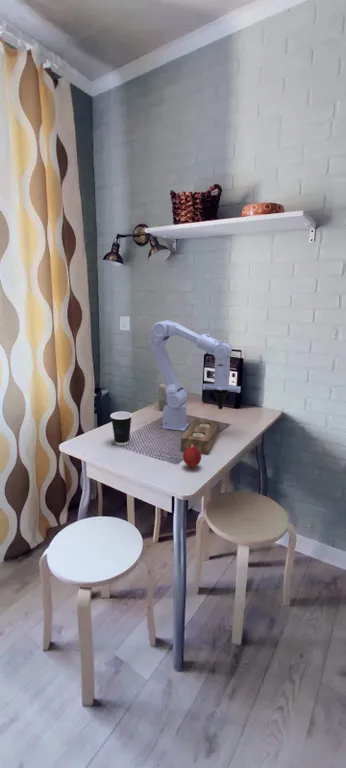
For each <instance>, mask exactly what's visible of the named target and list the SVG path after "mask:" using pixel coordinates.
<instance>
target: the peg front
mask: <svg viewBox="0 0 346 768" xmlns="http://www.w3.org/2000/svg"><path fill="white" fill-rule="evenodd" d="M193 436H195V437H204V434H202V433H194V434H193Z"/></svg>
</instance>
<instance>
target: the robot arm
mask: <svg viewBox="0 0 346 768" xmlns="http://www.w3.org/2000/svg"><path fill="white" fill-rule="evenodd" d="M150 334H151V335H150V349H151V351H152V353H153V355H154V356H153V357H154V358H155V360H156V361H155V362H156V364H157V365H158V368H159V371H160V374H161V376H162V378H163V379H162V380H163V381H164V384H166V395H167V404H168V405H165V406H164V409H163V410H162V427H161V429H165V430H173V431H180V432H181V431H182V432H184V431H185V430H187V429H188V426H190V423H189V422H187V401H188V400H189V392H188V391H187V389H185V387H184V385H183V384H182V383H181V382H180V381H179V379H178V376H177V374H176V372H175V369H174V365H173V364H172V360H171V358H170V356H169V353H168V351H167V347H166V344H167V342H168V341H169V339H170V337H172V336H178V337H181V338H184V339H186V340H189V341H191V342H192V343H194V344H196V346H197V348H198V349H199V350H202V351H204V352H206V353H208V354H211V355H213V356H214V359H215V360H214V375H213V376H214V377H213V379H214V380H213V381H214V382H213V383H203V384H202V390H209V391H210V390H212V391H213V395H214V397H215V399H216V402H217V406H218V407H217V408H218V409H219V410H223V408H224V403H225V400H226V398H227V396H228V394H229V393H230V392H233V393H238V394H240V393H241V387H242V386H237V385H234V384H233V385H232V384H230V371H231V369H230V367H231V362H230V360H231V355H232V352H233V347H232V346H231V344H230V343H228V342H226V341H223V342H222V340H221V339H219V340H218V339H215V338H214V337H211V334H209V333H207V334H206V333H203V334H198V333H197V332H194V331H193V330H191V329H189V328H187V327H185V326H183V325H182V324H180V323H178V322H176V321H172V320H171V319H165V320H161V321H156V322H155V323H154V324H153V326H152V327H151V329H150Z"/></svg>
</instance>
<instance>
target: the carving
mask: <svg viewBox="0 0 346 768" xmlns="http://www.w3.org/2000/svg"><path fill="white" fill-rule="evenodd" d="M157 401H158V409H159V410H160V411H163V409H164V406H165V405H168V404H167V395H166V384H165V383H161V384H159V385H158V398H157Z"/></svg>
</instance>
